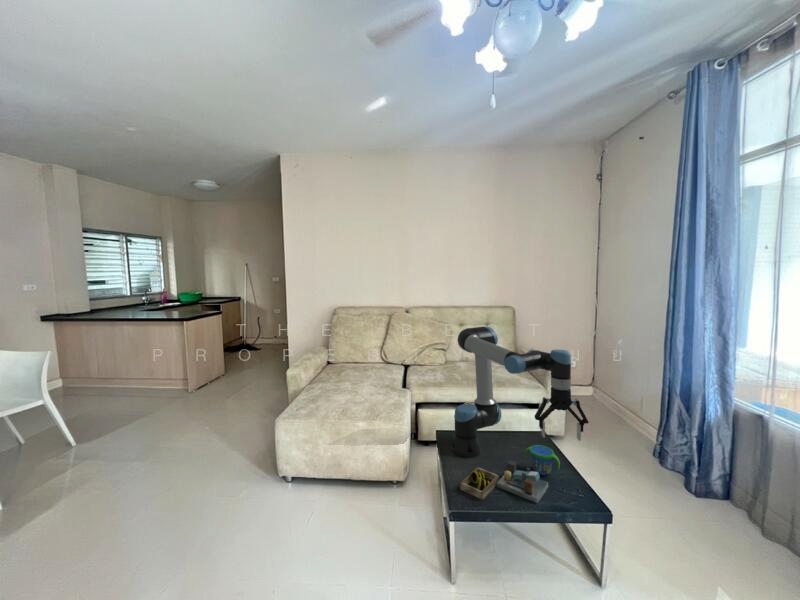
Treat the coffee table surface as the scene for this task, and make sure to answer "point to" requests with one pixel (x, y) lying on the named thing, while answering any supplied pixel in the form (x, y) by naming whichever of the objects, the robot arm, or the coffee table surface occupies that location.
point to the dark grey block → (512, 466)
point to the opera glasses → (479, 480)
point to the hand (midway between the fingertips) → (560, 437)
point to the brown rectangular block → (529, 485)
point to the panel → (518, 487)
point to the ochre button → (507, 475)
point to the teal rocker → (529, 475)
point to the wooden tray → (476, 492)
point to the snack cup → (541, 459)
